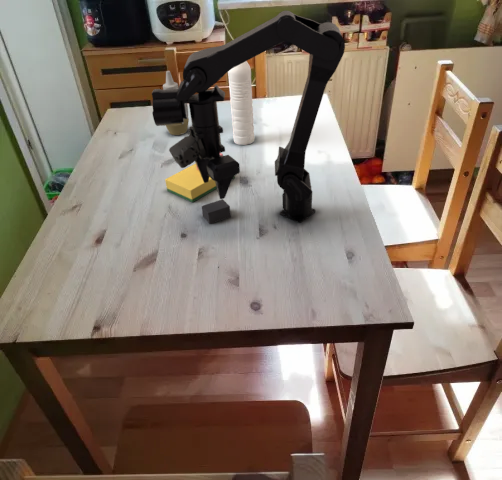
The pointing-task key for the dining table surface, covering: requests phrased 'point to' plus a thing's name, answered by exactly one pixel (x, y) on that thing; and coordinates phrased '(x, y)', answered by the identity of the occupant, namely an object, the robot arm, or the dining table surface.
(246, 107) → the water bottle
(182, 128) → the squeeze bottle
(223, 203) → the grey eraser
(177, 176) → the sponge
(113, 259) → the dining table surface
